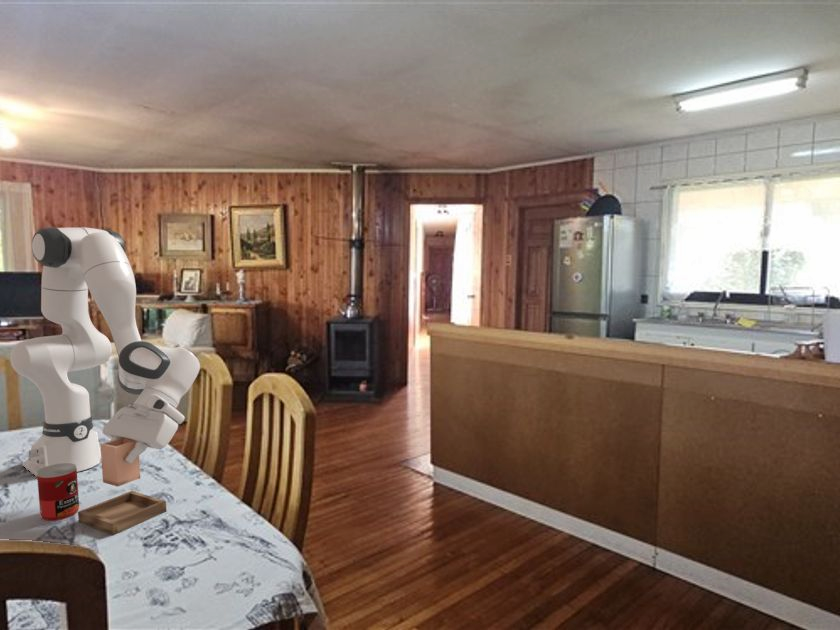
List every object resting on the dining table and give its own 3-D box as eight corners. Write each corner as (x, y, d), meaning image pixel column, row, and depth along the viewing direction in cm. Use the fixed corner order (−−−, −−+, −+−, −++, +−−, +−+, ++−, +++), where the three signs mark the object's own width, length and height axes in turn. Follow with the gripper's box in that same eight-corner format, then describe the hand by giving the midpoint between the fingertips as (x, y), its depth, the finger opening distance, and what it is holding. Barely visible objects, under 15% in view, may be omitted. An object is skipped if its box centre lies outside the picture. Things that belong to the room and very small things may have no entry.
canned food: (60, 522, 123) (57, 476, 122) (31, 519, 125) (28, 473, 124) (87, 508, 130) (84, 463, 129) (59, 505, 132) (56, 461, 131)
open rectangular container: (103, 482, 124) (100, 444, 123) (126, 474, 128) (123, 437, 128) (117, 486, 121) (115, 447, 120) (140, 478, 126) (138, 440, 125)
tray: (78, 522, 123) (77, 511, 123) (132, 500, 134) (131, 490, 134) (113, 535, 117) (112, 524, 117) (166, 511, 128) (165, 501, 128)
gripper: (118, 396, 134) (81, 446, 127) (172, 405, 125) (135, 459, 117) (136, 409, 139) (101, 458, 131) (189, 419, 129) (155, 472, 121)
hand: (117, 459), depth 124 cm, fingers closed on open rectangular container, 5 cm apart
